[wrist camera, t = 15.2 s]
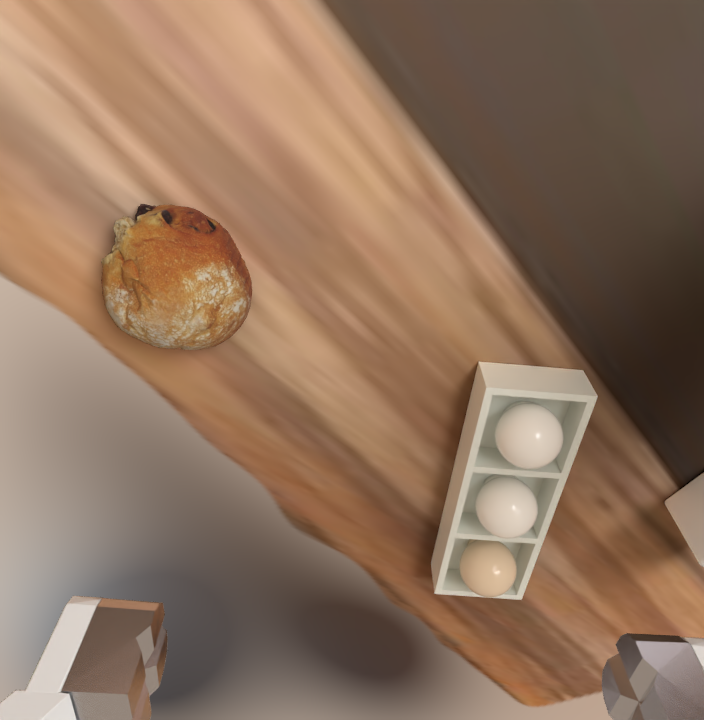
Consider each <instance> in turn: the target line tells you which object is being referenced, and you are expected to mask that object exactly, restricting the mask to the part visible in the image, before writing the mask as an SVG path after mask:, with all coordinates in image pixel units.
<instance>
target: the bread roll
mask: <svg viewBox="0 0 704 720" xmlns="http://www.w3.org/2000/svg"><path fill="white" fill-rule="evenodd" d="M135 216H136V221H135V220H133V219H131V218H129V217H125V216H123V217H122V218H120V219H118V220H116V221H115V225H114V227H113V229H114V232H115V235H116V238H115V245H113V248H112V252H111V253H110V254H108V255H107V256H106V257H105V258H104V259H102V261H101V263H102V266H103V272H102V288H103V297H104V301H105V306H106V309H107V311H108V313H109V314H110V316H111V318H112V319H113V321H114V323H115V324H116V325H117V327H119V328H120V329H121V330H123V331H124V332H126V333H127V334H129V335H131V336H132V337H134V338H137V339H139V340H141V341H143V342H145V343H147V344H150V345H152V346H156V347H158V348H170V349H174V348H181V349H184V350H185V349H186V350H199V349H205V348H210V347H213V346H216V345H218V344H220V343H222V342H224V341H225V340H227V339H228V338H229V337H231V336H232V335H233V334H234V333H235V332H236V331H237V330H238V329H239V328H240V327H241V325H242V324H243V322H244V320H245V319H246V317H247V314H248V312H249V309H250V304H251V298H252V286H251V278H250V275H249V272H248V269H247V267H246V265H245V261H244V260H243V259H242V258H241V254H240V252H239V250H238V248H237V247H236V245H235V243H234V241H233V239H232V238H231V236H230V235H229V233H228V231H227V230H225V229H224V228H223V227H222V226H221V225H220V224H219V223H218V222H216V221H215V220H213V219H211V218H209V217H208V216H206V215H204V214H203V213H201V212H200V211H198V210H196V209H193V208H189V207H181V206H174V205H159V206H157V207H156V206H150V205H146V204H140V206H139V207H138V210H137V213H136V215H135Z"/></svg>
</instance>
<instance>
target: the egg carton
mask: <svg viewBox="0 0 704 720" xmlns="http://www.w3.org/2000/svg"><path fill="white" fill-rule="evenodd" d="M597 397H598V396H597V394H596V392H595V390H594V389H593V387H592V385H591V383H590V382H589V380H588V378H587V376H586V374H585V373H584V371H583V370H576V369H564V368H552V367H540V366H528V365H516V364H504V363H491V362H478V366H477V370H476V374H475V379H474V383H473V387H472V391H471V395H470V400H469V404H468V408H467V412H466V417H465V421H464V425H463V429H462V433H461V438H460V442H459V446H458V450H457V454H456V459H455V463H454V467H453V471H452V476H451V480H450V484H449V488H448V492H447V497H446V501H445V505H444V509H443V514H442V518H441V522H440V526H439V530H438V535H437V539H436V543H435V547H434V551H433V556H432V560H431V569H432V578H433V586H434V594H444V595H459V596H474V597H483V596H480V595H478V594H476V593H474V592H473V591H471V590H470V589H469V588H468V587H467V586H466V584H465V583H464V581H463V579H462V577H461V574H460V568H459V563H460V558H461V555H462V553H463V551H464V549H465V548H466V547H467V543H468V541H469V540H470V539H476V540H490V541H499V542H501V543H503V544H504V545H505V546H506V547H507V548H508V549H509V550H510V551H511V553H512V554H513V556H514V559H515V561H516V567H517V573H516V578H515V581H514V583H513V585H512V586H511V588H510V589H509V590H508V591H507V592H505V593H504V594H502V595H500V596H497V597H488V598H503V599H517V600H522V597H523V595H524V592H525V589H526V587H527V584H528V581H529V579H530V576H531V573H532V571H533V568H534V565H535V563H536V560H537V557H538V555H539V552H540V549H541V547H542V544H543V541H544V539H545V536H546V533H547V531H548V528H549V525H550V523H551V520H552V517H553V515H554V512H555V509H556V507H557V504H558V501H559V499H560V496H561V493H562V491H563V488H564V485H565V483H566V480H567V477H568V475H569V472H570V469H571V467H572V464H573V461H574V459H575V456H576V453H577V451H578V448H579V445H580V443H581V440H582V437H583V435H584V432H585V429H586V427H587V424H588V421H589V419H590V416H591V413H592V411H593V408H594V405H595V403H596V400H597ZM523 400H526V401H531V402H533V403H535V404H539V405H541V406H544V407H546V408H547V409H549V410H550V411H551V412H552V413H553V414H554V415H555V416H556V417H557V418H558V420H559V422H560V424H561V426H562V430H563V444H562V448H561V450H560V452H559V454H558V455H557V457H556V458H555V459H554V460H553V461H552V462H550V463H549V464H548V465H546V466H544V467H541V468H537V469H524V468H520V467H517V466H515V465H513V464H511V463H510V462H508V461H507V460H506V459H505V458H504V457H503V456H502V455H501V453H500V452H499V450H498V448H497V445H496V441H495V429H496V425H497V422H498V420H499V418H500V417H501V415H502V414H503V412H504V410H505V409H506V408H507V407H508V406H509V405H510V404H512V403H514V402H517V401H523ZM493 474H500V475H513V476H514V477H515V478H516V479H519V480H521V481H522V482H524V483H525V484H526V485H527V486H528V487H529V488H530V489H531V490H532V492H533V493H534V495H535V497H536V500H537V505H538V513H537V518H536V521H535V523H534V525H533V526H532V528H531V529H530V530H529V531H528V532H527V533H525V534H523V535H522V536H519V537H516V538H500V537H497V536H495V535H493V534H491V533H490V532H488V531H487V530H486V529H485V528H484V527H483V526H482V524H481V523H480V521H479V519H478V517H477V514H476V508H475V504H476V498H477V495H478V492H479V491H480V489H481V488H482V486H483V484H484V481H485V480H486V479H487V478H488V477H489V476H491V475H493Z"/></svg>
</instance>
